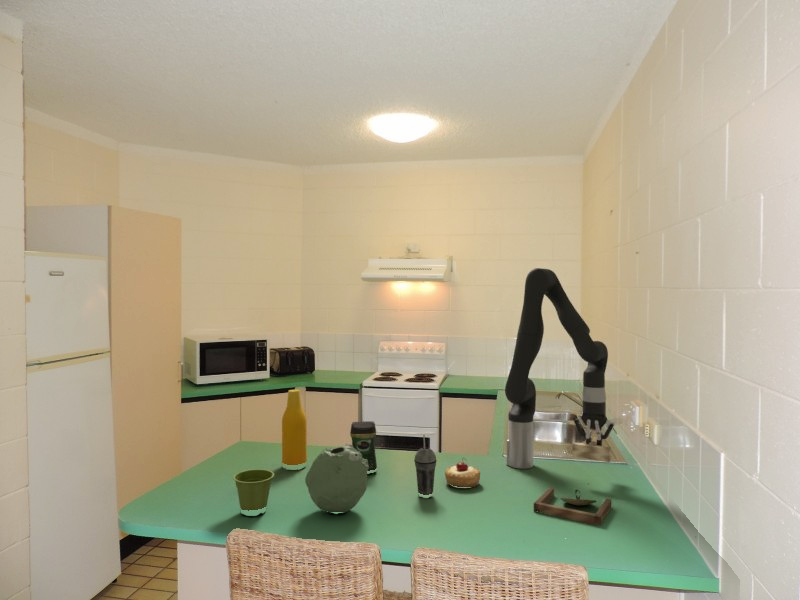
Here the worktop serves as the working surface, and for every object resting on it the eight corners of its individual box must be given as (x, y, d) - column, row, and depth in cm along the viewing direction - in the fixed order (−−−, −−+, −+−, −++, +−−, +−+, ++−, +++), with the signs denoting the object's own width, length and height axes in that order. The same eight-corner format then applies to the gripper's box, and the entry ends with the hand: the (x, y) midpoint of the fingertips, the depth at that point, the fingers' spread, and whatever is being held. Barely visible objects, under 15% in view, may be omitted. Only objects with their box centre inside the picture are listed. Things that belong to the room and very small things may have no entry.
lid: (562, 512, 162) (562, 495, 162) (558, 499, 172) (558, 483, 172) (599, 514, 160) (599, 497, 160) (593, 501, 170) (593, 485, 170)
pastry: (441, 489, 182) (440, 463, 182) (450, 477, 193) (449, 452, 193) (476, 492, 178) (475, 466, 178) (483, 480, 189) (482, 455, 189)
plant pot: (239, 524, 154) (239, 484, 154) (228, 510, 164) (228, 473, 164) (279, 515, 160) (279, 477, 160) (267, 502, 170) (266, 466, 170)
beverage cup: (440, 493, 177) (439, 432, 177) (431, 501, 170) (431, 438, 170) (419, 490, 180) (419, 430, 180) (410, 498, 173) (410, 435, 173)
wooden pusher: (572, 456, 186) (572, 443, 185) (581, 446, 196) (581, 434, 195) (609, 462, 179) (609, 449, 179) (616, 451, 189) (616, 439, 189)
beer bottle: (287, 462, 210) (286, 388, 210) (310, 463, 209) (309, 388, 208) (278, 470, 201) (277, 392, 201) (302, 471, 200) (302, 393, 199)
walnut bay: (533, 511, 162) (533, 503, 162) (549, 495, 175) (549, 487, 175) (599, 525, 152) (599, 517, 152) (611, 507, 165) (611, 499, 165)
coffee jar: (376, 468, 203) (376, 418, 203) (377, 475, 195) (377, 424, 195) (350, 469, 202) (350, 419, 202) (350, 476, 194) (349, 424, 194)
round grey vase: (306, 503, 169) (306, 439, 169) (367, 500, 171) (366, 437, 171) (304, 525, 153) (303, 454, 153) (370, 521, 156) (370, 451, 155)
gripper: (570, 399, 187) (570, 449, 187) (613, 403, 179) (613, 455, 180) (576, 395, 193) (576, 444, 193) (617, 399, 186) (617, 450, 186)
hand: (594, 449), depth 186 cm, fingers closed on wooden pusher, 2 cm apart
